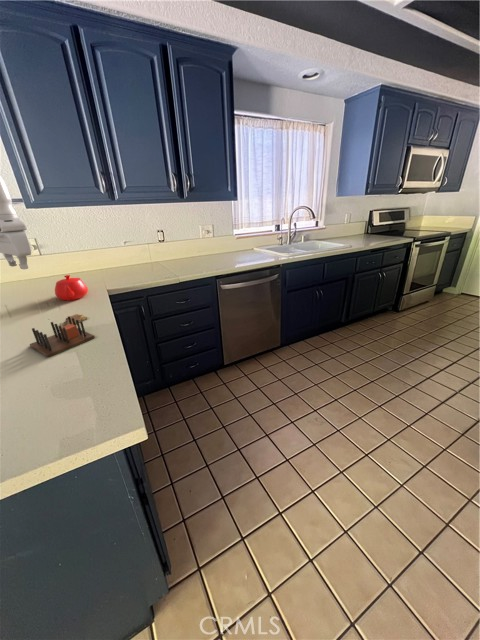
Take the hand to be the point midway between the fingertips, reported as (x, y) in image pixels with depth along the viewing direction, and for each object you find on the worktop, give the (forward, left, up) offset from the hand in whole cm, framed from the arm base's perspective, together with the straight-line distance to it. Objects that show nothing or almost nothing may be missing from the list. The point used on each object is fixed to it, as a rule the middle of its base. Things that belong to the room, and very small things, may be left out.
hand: (19, 267), depth 90 cm
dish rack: (+2, -10, -27) cm, 29 cm away
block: (+5, -10, -26) cm, 28 cm away
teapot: (+30, +40, -27) cm, 57 cm away
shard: (+14, +4, -27) cm, 31 cm away
